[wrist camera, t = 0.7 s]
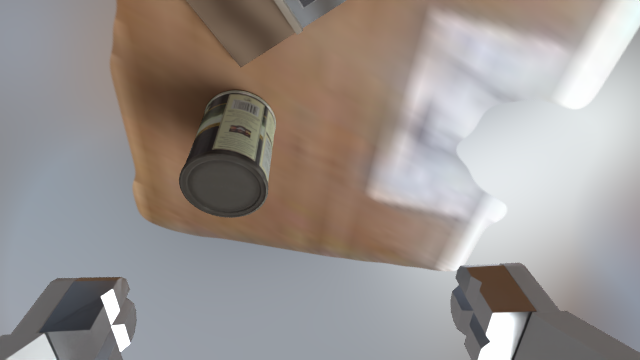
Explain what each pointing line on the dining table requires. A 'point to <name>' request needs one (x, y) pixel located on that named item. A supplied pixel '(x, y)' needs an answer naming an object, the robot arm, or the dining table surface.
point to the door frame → (257, 22)
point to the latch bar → (305, 2)
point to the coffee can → (230, 156)
